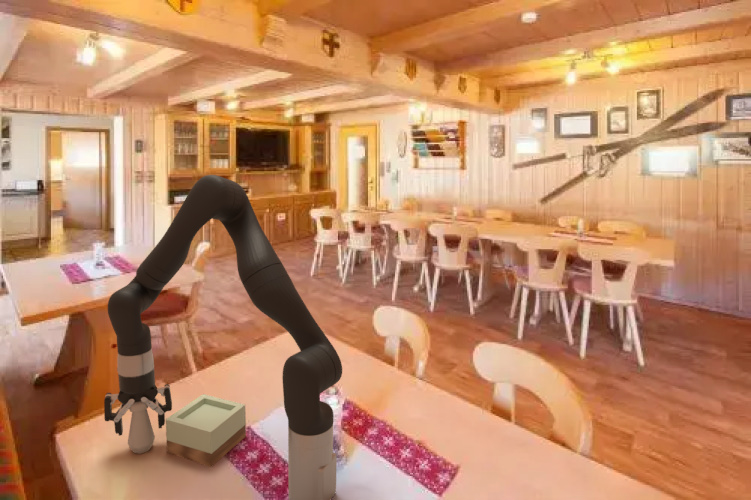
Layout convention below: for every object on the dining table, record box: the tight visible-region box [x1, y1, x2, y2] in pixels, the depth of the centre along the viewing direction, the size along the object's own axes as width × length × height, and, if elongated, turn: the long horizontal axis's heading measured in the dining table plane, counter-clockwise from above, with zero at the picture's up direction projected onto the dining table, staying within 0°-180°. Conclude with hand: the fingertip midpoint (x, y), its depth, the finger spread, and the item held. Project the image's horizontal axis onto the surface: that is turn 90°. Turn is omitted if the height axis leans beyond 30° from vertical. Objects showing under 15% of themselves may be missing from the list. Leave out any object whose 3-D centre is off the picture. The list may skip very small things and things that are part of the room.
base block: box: [166, 424, 247, 468], centre depth 115 cm, size 13×13×4 cm
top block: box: [165, 393, 247, 454], centre depth 114 cm, size 13×13×6 cm
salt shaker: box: [127, 401, 156, 455], centre depth 111 cm, size 6×6×13 cm
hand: (140, 430), depth 112 cm, fingers open, 8 cm apart
